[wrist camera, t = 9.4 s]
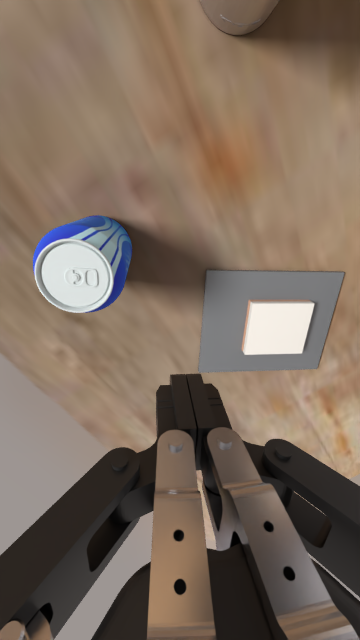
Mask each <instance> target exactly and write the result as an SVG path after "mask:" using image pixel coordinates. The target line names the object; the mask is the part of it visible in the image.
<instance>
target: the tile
mask: <svg viewBox="0 0 360 640" xmlns="http://www.w3.org/2000/svg"><path fill="white" fill-rule="evenodd" d="M314 304H315V303H313V302H311V301H310V300H249V302H248V308H247V315H246V322H245V328H244V335H243V342H242V351H243V353H244V354H245V355H257V354H300V353H302V351H303V347H304V343H305V340H306V336H307V332H308V328H309V324H310V320H311V316H312V312H313V308H314Z"/></svg>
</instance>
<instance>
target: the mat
mask: <svg viewBox="0 0 360 640" xmlns="http://www.w3.org/2000/svg"><path fill="white" fill-rule="evenodd" d="M343 277H344V272H332V271H257V270H206V280H205V292H204V305H203V318H202V330H201V343H200V355H199V368H198V371H199V373H201V372H234V371H267V370H300V369H317V367H318V364H319V360H320V357H321V353H322V350H323V346H324V343H325V339H326V336H327V332H328V329H329V325H330V322H331V318H332V315H333V311H334V308H335V304H336V301H337V297H338V294H339V290H340V287H341V284H342V280H343ZM249 300H310V301H311V302H313V303H315V304H314V308H313V312H312V316H311V320H310V324H309V328H308V332H307V336H306V340H305V343H304V347H303V351H302V353H300V354H257V355H245V354H244V353H243V351H242V342H243V335H244V328H245V322H246V315H247V308H248V302H249Z"/></svg>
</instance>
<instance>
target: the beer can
mask: <svg viewBox="0 0 360 640" xmlns="http://www.w3.org/2000/svg"><path fill="white" fill-rule="evenodd" d="M131 257H132V244H131V240H130V238H129V235H128V234H127V232H126V230H125V229H124V228H123V227H122V226H121V225H120V224H119V223H118V222H116V221H115V220H113V219H111V218H108V217H105V216H89V217H86V218H83V219H80V220H77V221H74V222H71V223H69V224H66V225H63V226H60V227H57V228H55V229H53V230H51V231H50V232H49V233H47V234H46V235H45V236H44V237H43V238H42V239H41V241H40V242H39V244H38V245H37V247H36V250H35V253H34V258H33V270H34V275H35V279H36V283H37V286H38V288H39V290H40V291H41V293H42V294H43V296H44V297H45V298H46V299H47V300H48V301H49V302H50V303H52V304H53V305H55V306H56V307H58V308H60V309H62V310H65V311H69V312H75V313H87V312H94V311H98V310H101V309H103V308H105V307H107V306H109V305H110V304H111V303H113V302H114V301H115V300H116V299H117V297H118V296H119V295H120V293H121V291H122V290H123V287H124V284H125V280H126V276H127V273H128V269H129V265H130V261H131Z"/></svg>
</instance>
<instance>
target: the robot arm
mask: <svg viewBox="0 0 360 640" xmlns="http://www.w3.org/2000/svg"><path fill="white" fill-rule="evenodd" d="M200 2H201V5H202V7H203V9H204V12H205V13H206V15H207V16H208V18H209V19H210V21H211V22H212V23H213V24H214V25H215V26H216V27H217V28H219V29H220V30H222V31H224V32H225V33H229V34H232V35H243V34H247V33H250V32H252V31H254V30H255V29H257V28H258V27H260V26H261V25H262V24H263V23H264V22H265V21H266V19H267V18H268V16H269V15H270V14H271V12H272V11H273V9H274V8H275V6H276V5H277V3H278V2H279V0H200ZM156 425H157V440H156V442H155V443H154V444H153V445H152V446H151V447H150V448H148V449H147V450H144V451H142V452H139V453H136V452H135V451H134V450H132V449H129V448H125V447H121V448H116V449H113V450H111V451H110V452H108V453H107V454H106V455H105V456H104V457H103V458H102V459H100V460H99V461H98V462H97V463H96V464H95V465H94V466H93V467H92V468H91V469H90V470H89V471H88V472H87V473H86V474H85V475H84V476H83V477H82V478H81V479H80V480H79V481H78V482H76V483H75V484H74V485H73V486H72V487H71V488H70V489H69V490H68V491H67V492H66V493H65V494H64V495H63V496H62V497H61V498H60V499H59V500H58V501H57V502H56V503H55V504H54V505H52V507H51V508H49V509H48V510H47V511H46V512H45V513H44V514H43V515H42V516H41V517H40V518H39V519H38V520H37V521H36V522H35V523H34V524H33V525H32V526H31V527H30V528H29V529H27V530H26V531H25V532H24V533H23V534H22V535H21V536H20V537H19V538H18V539H17V540H16V541H15V542H14V543H13V544H12V545H11V546H10V547H9V548H8V549H7V550H6V551H5V552H4V553H3V554H1V555H0V640H54V638H55V637H56V636H57V634H58V633H59V631H60V630H61V629H62V627H63V626H64V625H65V623H66V622H67V620H68V619H69V618H70V616H71V615H72V613H73V612H74V611H75V609H76V608H77V606H78V605H79V604H80V602H81V601H82V599H83V598H84V597H85V595H86V594H87V592H88V591H89V590H90V588H91V587H92V585H93V584H94V583H95V581H96V580H97V578H98V577H99V576H100V574H101V573H102V572H103V570H104V569H105V567H106V566H107V565H108V563H109V562H110V560H111V559H112V557H113V556H114V555H115V553H116V552H117V550H118V549H119V548H120V546H121V545H122V544H123V542H124V541H125V539H126V538H127V537H128V535H129V534H130V532H131V531H132V530H133V528H134V527H135V525H136V524H137V523H138V521H139V519H140V517H141V516H143V515H145V514H147V513H149V512H152V511H154V513H153V533H152V551H151V562H149V563H148V564H146V565H145V566H143V567H142V568H140V569H139V570H138V571H137V572H136V573H135V574H134V575H133V576H132V577H131V578H130V579H129V580H128V581H127V582H126V584H125V585H124V586H123V588H122V589H121V591H120V592H119V594H118V596H117V597H116V599H115V600H114V602H113V604H112V605H111V607H110V609H109V611H108V612H107V614H106V615H105V617H104V619H103V621H102V622H101V624H100V626H99V627H98V629H97V631H96V632H95V634H94V636H93V637H92V639H91V640H360V601H359V600H358V599H357V598H355V597H354V596H353V595H352V594H351V593H350V592H349V591H348V590H346V588H344V587H343V586H342V585H341V584H340V583H339V582H338V581H337V580H336V579H335V578H333V577H332V576H331V575H330V574H329V573H328V572H327V571H326V570H325V569H323V568H322V567H321V566H320V565H319V564H318V563H316V562H315V561H314V560H312V559H311V558H310V557H309V555H308V553H309V554H310V555H311V556H313V557H314V558H315V559H316V560H317V561H319V562H320V563H321V564H322V565H323V566H324V567H325V568H326V569H328V570H329V571H330V572H331V573H332V574H334V575H335V576H336V577H337V578H338V579H339V580H340V581H342V582H343V583H344V584H345V585H346V586H347V587H349V588H350V589H351V590H352V591H353V592H354V593H355V594H357V595H358V596H359V597H360V486H358V485H357V484H355V483H353V482H352V481H350V480H349V479H347V478H346V477H344V476H342V475H341V474H339V473H338V472H336V471H334V470H333V469H331V468H330V467H328V466H326V465H325V464H323V463H322V462H320V461H319V460H317V459H315V458H314V457H312V456H311V455H309V454H307V453H306V452H304V451H303V450H301V449H300V448H298V447H296V446H295V445H293V444H292V443H290V442H288V441H286V440H282V439H272V440H269V441H268V442H267V443H266V444H265V446H259V445H255V444H251V443H247V442H245V441H243V440H242V439H241V437H240V436H239V435H238V434H237V433H236V432H235V431H233V430H232V427H231V424H230V422H229V419H228V416H227V414H226V411H225V408H224V406H223V403H222V400H221V397H220V394H219V392H218V390H217V389H216V388H215V387H214V386H213V385H212V384H204V383H203V380H202V377H201V374H186V375H185V374H176V375H170V385H160V387H159V389H158V390H157V392H156ZM196 470H201V471H202V476H203V481H202V490H203V494H204V497H205V501H206V505H207V509H208V512H209V516H210V520H211V524H212V527H213V531H214V535H215V540H216V547H217V550H213V549H208V548H206V539H205V529H204V520H203V510H202V501H201V494H200V491H198V486H197V475H196ZM294 491H295V492H296V493H297V494H296V493H295V492H294ZM298 494H299V495H300V496H301V497H300V496H299V495H298ZM302 497H303V498H304V499H306V500H307V501H308V502H310V503H311V504H313V505H314V506H315V507H316V508H318V509H319V510H321V511H322V512H323V513H324V514H325V515H324V514H323V513H322V512H320V511H319V510H318V509H316V508H315V507H314V506H312V505H311V504H310V503H308V502H307V501H306V500H304V499H303V498H302ZM307 552H308V553H307Z"/></svg>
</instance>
